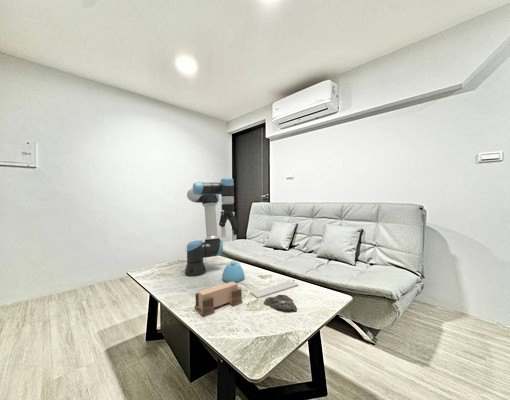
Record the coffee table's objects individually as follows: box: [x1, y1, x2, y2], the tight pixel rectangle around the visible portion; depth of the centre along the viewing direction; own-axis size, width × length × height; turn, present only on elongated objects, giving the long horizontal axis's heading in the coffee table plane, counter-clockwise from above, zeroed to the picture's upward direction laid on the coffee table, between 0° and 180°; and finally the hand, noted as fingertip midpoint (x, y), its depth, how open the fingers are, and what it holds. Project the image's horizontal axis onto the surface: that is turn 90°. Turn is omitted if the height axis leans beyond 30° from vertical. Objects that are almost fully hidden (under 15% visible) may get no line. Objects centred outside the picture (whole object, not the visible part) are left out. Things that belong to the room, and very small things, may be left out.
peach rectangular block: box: [197, 281, 239, 311], centre depth 112 cm, size 5×20×8 cm, turn 128°
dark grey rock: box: [263, 294, 298, 314], centre depth 112 cm, size 19×4×15 cm
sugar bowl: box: [221, 261, 245, 283], centre depth 148 cm, size 15×15×12 cm
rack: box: [194, 288, 244, 318], centre depth 112 cm, size 10×22×7 cm, turn 126°
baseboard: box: [249, 279, 299, 300], centre depth 130 cm, size 30×3×10 cm
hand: (228, 238), depth 131 cm, fingers open, 13 cm apart
